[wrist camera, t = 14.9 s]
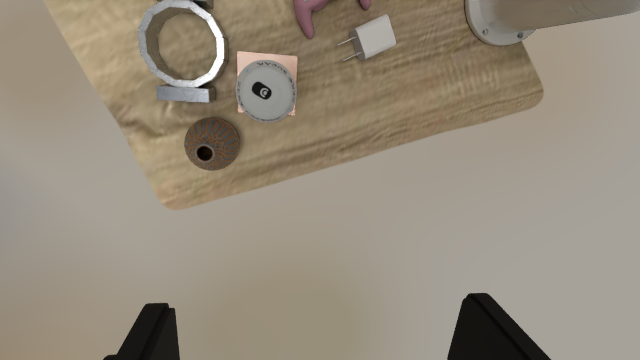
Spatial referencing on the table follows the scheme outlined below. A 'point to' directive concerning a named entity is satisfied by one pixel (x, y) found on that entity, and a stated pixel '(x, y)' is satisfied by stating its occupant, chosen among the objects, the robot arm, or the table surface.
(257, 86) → the energy drink can
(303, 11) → the video game controller
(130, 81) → the table surface
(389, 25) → the usb wall charger
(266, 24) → the table surface
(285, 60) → the coaster
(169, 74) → the ring holder
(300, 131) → the table surface
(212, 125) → the vase
